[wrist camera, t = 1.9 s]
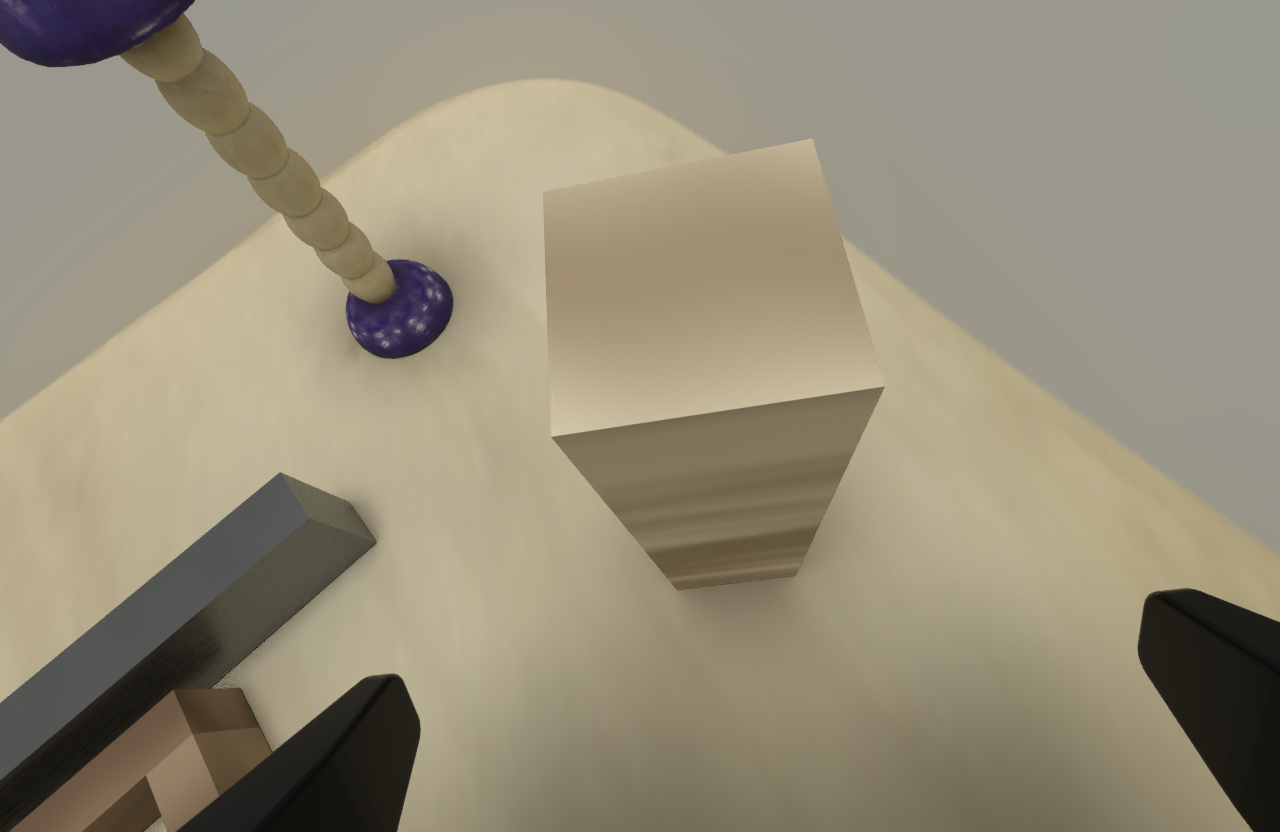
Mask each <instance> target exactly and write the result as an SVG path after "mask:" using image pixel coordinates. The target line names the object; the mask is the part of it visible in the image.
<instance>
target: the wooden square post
mask: <svg viewBox="0 0 1280 832" xmlns="http://www.w3.org/2000/svg"><path fill="white" fill-rule="evenodd" d="M543 206H544V236H545V267H546V298H547V328H548V359H549V390H550V421H551V437H552V439H553V440H554V441H555V442H556V443H557V445H558V446H559V447H560V448H561V449H562V451H563V452H564V453H565V454H566V456H567V457H568V458H569V459H570V460H571V462H572V463H573V464H574V465H575V466H576V468H577V469H578V470H579V471H580V473H581V474H582V475H583V476H584V477H585V479H586V480H587V481H588V482H589V483H590V485H591V486H592V487H593V488H594V490H595V491H596V492H597V493H598V494H599V496H600V497H601V498H602V499H603V500H604V502H605V503H606V504H607V505H608V507H609V508H610V509H611V510H612V511H613V513H614V514H615V515H616V516H617V517H618V519H619V520H620V521H621V522H622V524H623V525H624V526H625V527H626V528H627V530H628V531H629V532H630V533H631V535H632V536H633V537H634V538H635V539H636V541H637V542H638V543H639V544H640V545H641V547H642V548H643V549H644V550H645V552H646V553H647V554H648V555H649V556H650V558H651V559H652V560H653V561H654V562H655V564H656V565H657V566H658V567H659V569H660V570H661V571H662V572H663V573H664V575H665V576H666V577H667V578H668V579H669V581H670V582H671V583H672V584H673V586H674V587H675V588H676V589H677V590H679V589H688V588H696V587H705V586H713V585H721V584H730V583H738V582H747V581H755V580H764V579H772V578H781V577H789V576H796V573H797V571H798V569H799V567H800V565H801V563H802V561H803V559H804V557H805V554H806V552H807V550H808V548H809V546H810V544H811V542H812V540H813V537H814V535H815V533H816V531H817V529H818V527H819V525H820V523H821V521H822V518H823V516H824V514H825V512H826V510H827V508H828V506H829V504H830V501H831V499H832V497H833V495H834V493H835V491H836V489H837V487H838V485H839V482H840V480H841V478H842V476H843V474H844V472H845V470H846V468H847V465H848V463H849V461H850V459H851V457H852V455H853V453H854V451H855V449H856V446H857V444H858V442H859V440H860V438H861V436H862V434H863V432H864V430H865V427H866V425H867V423H868V421H869V419H870V417H871V415H872V413H873V410H874V408H875V406H876V404H877V402H878V400H879V398H880V396H881V394H882V391H883V389H884V387H885V385H884V382H883V378H882V375H881V371H880V368H879V365H878V361H877V358H876V354H875V351H874V347H873V344H872V341H871V337H870V334H869V330H868V327H867V324H866V320H865V317H864V313H863V310H862V306H861V303H860V300H859V296H858V293H857V289H856V286H855V282H854V279H853V276H852V272H851V269H850V265H849V262H848V258H847V255H846V252H845V248H844V245H843V241H842V238H841V235H840V231H839V228H838V225H837V221H836V218H835V214H834V211H833V207H832V204H831V200H830V197H829V193H828V190H827V187H826V183H825V180H824V176H823V173H822V169H821V167H820V163H819V159H818V156H817V152H816V149H815V146H814V142H813V139H808V140H803V141H798V142H793V143H788V144H783V145H778V146H773V147H768V148H762V149H757V150H752V151H747V152H742V153H738V154H732V155H727V156H722V157H717V158H712V159H707V160H702V161H697V162H692V163H687V164H682V165H677V166H672V167H667V168H662V169H657V170H652V171H647V172H642V173H637V174H632V175H627V176H622V177H616V178H611V179H606V180H601V181H596V182H591V183H586V184H581V185H576V186H571V187H566V188H561V189H556V190H551V191H546V192H543Z"/></svg>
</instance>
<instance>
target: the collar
mask: <svg viewBox="0 0 1280 832" xmlns="http://www.w3.org/2000/svg"><path fill="white" fill-rule="evenodd" d="M271 753H272V752H271V750H270V748H269V746H268V744H267V742H266V740H265V738H264V736H263V734H262V732H261V730H260V728H259V726H258V724H257V721H256V719H255V717H254V715H253V713H252V711H251V709H250V707H249V705H248V703H247V701H246V699H245V697H244V695H243V693H242V691H241V689H240V688H228V689H187V690H172V691H171V692H170V693H169V694H168V695H167V696H165V697H164V698H163V699H162V700H161V701H160V702H159V703H157V704H156V705H155V706H154V707H153V708H152V709H150V710H149V711H148V712H147V713H146V714H145V715H144V716H142V717H141V718H140V719H139V720H138V721H137V722H135V723H134V724H133V725H132V726H131V727H130V728H128V729H127V730H126V731H125V732H124V733H123V734H122V735H120V736H119V737H118V738H117V739H116V740H115V741H113V742H112V743H111V744H110V745H109V746H108V747H107V748H105V749H104V750H103V751H102V752H101V753H100V754H98V755H97V756H96V757H95V758H94V759H93V760H92V761H90V762H89V763H88V764H87V765H86V766H85V767H83V768H82V769H81V770H80V771H79V772H78V773H76V774H75V775H74V776H73V777H72V778H71V779H70V780H68V781H67V782H66V783H65V784H64V785H63V786H61V787H60V788H59V789H58V790H57V791H56V792H55V793H53V794H52V795H51V796H50V797H49V798H48V799H46V800H45V801H44V802H43V803H42V804H41V805H40V806H38V807H37V808H36V809H35V810H34V811H33V812H31V813H30V814H29V815H28V816H27V817H26V818H24V819H23V820H22V821H21V822H20V823H19V824H18V825H16V826H15V827H14V828H13V829H12V830H11V831H9V832H143V831H144V830H145V829H147V828H148V827H149V826H150V825H151V824H152V823H153V822H154V821H155V820H157V819H158V818H159V817H160V816H162V818H163V821H164V823H165V826H166V829H167V831H168V832H175V831H177V830H178V829H179V828H180V827H182V826H183V825H184V824H185V823H186V822H188V821H189V820H190V819H191V818H193V817H194V816H195V815H196V814H198V813H199V812H200V811H201V810H202V809H204V808H205V807H206V806H207V805H209V804H210V803H211V802H212V801H214V800H215V799H216V798H217V797H218V796H220V795H221V794H222V793H223V792H225V791H226V790H227V789H228V788H230V787H231V786H232V785H233V784H234V783H236V782H237V781H238V780H239V779H241V778H242V777H243V776H244V775H245V774H247V773H248V772H249V771H250V770H252V769H253V768H254V767H255V766H257V765H258V764H259V763H260V762H261V761H263V760H264V759H265V758H266V757H268V756H269V755H270V754H271Z"/></svg>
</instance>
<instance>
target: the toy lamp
mask: <svg viewBox="0 0 1280 832" xmlns="http://www.w3.org/2000/svg"><path fill="white" fill-rule="evenodd" d="M194 1H195V0H0V43H1V44H2V45H3V46H5V47H6V48H7V49H8V50H9V51H11V52H12V53H14V54H15V55H17V56H18V57H20V58H22V59H24V60H26V61H31V62H33V63H35V64H38V65H42V66H47V67H67V66H80V65H86V64H92V63H96V62H99V61H102V60H104V59H107V58H110V57H113V56H117V55H119V56H121V57H122V58H123V59H124V60H125V61H126V62H127V63H129V64H130V65H131V66H133V67H134V68H135V69H137V70H138V71H140V72H142V73H143V74H145V75H147V76H149V77H151V78H153V79H155V81H156V84H157V86H158V88H159V90H160V92H161V94H162V95H163V97H164V98H165V99H166V101H167V102H168V103H169V104H170V106H171V107H172V108H173V109H174V110H175V111H176V112H177V113H178V114H179V115H180V116H181V117H182V118H184V119H185V120H186V121H187V122H189V123H190V124H192V125H193V126H195V127H197V128H199V129H201V130H203V131H205V133H206V136H207V138H208V140H209V142H210V144H211V145H212V146H213V148H214V149H215V150H216V152H217V153H218V154H219V155H220V156H221V157H222V158H223V159H224V160H225V161H226V162H227V163H228V164H229V165H230V166H232V167H233V168H234V169H236V170H237V171H239V172H241V173H243V174H245V175H247V177H248V180H249V182H250V183H251V185H252V187H253V189H254V190H255V192H256V193H257V194H258V196H259V197H260V198H261V199H262V200H263V201H264V202H265V203H266V204H268V205H269V206H270V207H271V208H273V209H274V210H276V211H278V212H279V213H281V214H283V216H284V219H285V221H286V223H287V225H288V226H289V228H290V229H291V231H292V232H293V233H294V234H295V235H296V236H297V237H298V238H299V239H300V240H302V241H303V242H305V243H306V244H308V245H310V246H312V247H314V250H315V252H316V254H317V256H318V257H319V259H320V260H321V262H322V263H323V264H324V265H325V266H326V267H327V268H329V269H330V270H331V271H333V272H334V273H336V274H338V275H340V276H341V279H342V281H343V283H344V284H345V286H346V287H347V288H348V290H349V291H350V292H349V294H348V298H347V303H346V315H347V321H348V325H349V328H350V330H351V333H352V334H353V336H354V337H355V339H356V340H357V342H358V343H359V344H360V345H361V346H362V347H363V348H364V349H366V350H367V351H369V352H370V353H372V354H374V355H377V356H381V357H391V358H393V357H400V356H405V355H408V354H412V353H414V352H416V351H418V350H420V349H422V348H423V347H425V346H426V345H428V344H429V343H430V342H431V341H433V340H434V339H435V338H436V336H437V335H438V334H439V333H440V332H441V331H442V330H443V329H444V327H445V325H446V323H447V321H448V320H449V317H450V313H451V309H452V294H451V291H450V289H449V286H448V284H447V283H446V281H445V280H444V279H443V278H442V277H441V276H440V275H438V274H437V273H436V272H435V271H433V270H432V269H430V268H428V267H427V266H425V265H423V264H421V263H418V262H415V261H410V260H389V261H385V260H384V259H383V258H382V257H381V256H380V255H379V254H377V253H376V252H374V251H373V250H372V247H371V244H370V242H369V240H368V239H367V237H366V236H365V235H364V233H363V232H362V231H361V230H360V229H359V228H358V227H356V226H355V225H354V224H353V223H351V222H349V221H348V217H347V214H346V212H345V210H344V208H343V207H342V205H341V204H340V203H339V201H338V200H337V199H336V198H335V197H334V196H333V195H332V194H331V193H329V192H328V191H326V190H325V189H323V188H322V187H320V182H319V180H318V177H317V176H316V174H315V172H314V171H313V169H312V168H311V167H310V165H309V164H308V163H307V162H306V161H305V159H304V158H303V157H301V156H300V155H299V154H298V153H296V152H295V151H293V150H292V149H290V148H288V147H287V146H286V142H285V140H284V137H283V135H282V134H281V132H280V130H279V129H278V127H277V126H276V125H275V124H274V122H273V121H272V120H271V119H270V118H269V117H268V116H267V115H266V114H265V113H264V112H263V111H262V110H261V109H260V108H258V107H257V106H255V105H253V104H252V103H250V102H248V100H247V96H246V93H245V91H244V89H243V87H242V85H241V83H240V82H239V80H238V79H237V78H236V76H235V75H234V74H233V72H232V71H231V70H230V69H229V68H228V67H227V66H226V64H224V63H223V62H222V61H221V60H220V59H219V58H217V57H216V56H215V55H213V54H212V53H210V52H209V51H207V50H206V49H204V48H202V46H201V43H200V39H199V37H198V35H197V33H196V31H195V29H194V28H193V26H192V24H191V23H190V21H189V20H188V18H187V17H186V16H185V14H184V13H183V12H185V11H186V10H187V9H188V8H189V6H191V5H192V4H193V3H194Z"/></svg>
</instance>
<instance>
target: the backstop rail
mask: <svg viewBox="0 0 1280 832" xmlns="http://www.w3.org/2000/svg"><path fill="white" fill-rule="evenodd" d="M375 543H376V541H375V539H374V538H373V536H372V535H371V534H370V532H369V531H368V529H367V528H366V526H365V525H364V523H363V522H362V520H361V519H360V517H359V516H358V514H357V513H356V512H355V510H354V509H353V507H352V506H351V504H350V503H349V502H347V501H345V500H343V499H341V498H338V497H336V496H334V495H331V494H329V493H327V492H324V491H322V490H320V489H318V488H315V487H313V486H311V485H308V484H306V483H304V482H301V481H299V480H297V479H295V478H292V477H290V476H288V475H285V474H283V473H281V472H280V473H278V474H277V475H276V476H275V477H274V478H272V479H271V480H270V481H269V482H268V483H266V484H265V485H264V486H263V487H262V488H260V489H259V490H258V491H257V492H255V493H254V494H253V495H252V496H251V497H249V498H248V499H247V500H246V501H245V502H243V503H242V504H241V505H240V506H238V507H237V508H236V509H235V510H234V511H232V512H231V513H230V514H229V515H228V516H226V517H225V518H224V519H223V520H222V521H220V522H219V523H218V524H217V525H215V526H214V527H213V528H212V529H211V530H209V531H208V532H207V533H206V534H205V535H203V536H202V537H201V538H200V539H199V540H197V541H196V542H195V543H194V544H192V545H191V546H190V547H189V548H188V549H186V550H185V551H184V552H183V553H182V554H180V555H179V556H178V557H177V558H175V559H174V560H173V561H172V562H171V563H169V564H168V565H167V566H166V567H165V568H163V569H162V570H161V571H160V572H159V573H157V574H156V575H155V576H154V577H152V578H151V579H150V580H149V581H148V582H146V583H145V584H144V585H143V586H142V587H140V588H139V589H138V590H137V591H136V592H134V593H133V594H132V595H131V596H129V597H128V598H127V599H126V600H125V601H123V602H122V603H121V604H120V605H119V606H117V607H116V608H115V609H114V610H112V611H111V612H110V613H109V614H108V615H106V616H105V617H104V618H103V619H102V620H100V621H99V622H98V623H97V624H96V625H94V626H93V627H92V628H91V629H89V630H88V631H87V632H86V633H85V634H83V635H82V636H81V637H80V638H79V639H77V640H76V641H75V642H74V643H73V644H71V645H70V646H69V647H68V648H66V649H65V650H64V651H63V652H62V653H60V654H59V655H58V656H57V657H56V658H54V659H53V660H52V661H51V662H49V663H48V664H47V665H46V666H45V667H43V668H42V669H41V670H40V671H39V672H37V673H36V674H35V675H34V676H33V677H31V678H30V679H29V680H28V681H26V682H25V683H24V684H23V685H22V686H20V687H19V688H18V689H17V690H16V691H14V692H13V693H12V694H11V695H10V696H8V697H7V698H6V699H5V700H3V701H2V702H1V703H0V832H9V831H11V830H12V829H13V828H14V827H15V826H16V825H18V824H19V823H20V822H21V821H22V820H23V819H24V818H26V817H27V816H28V815H29V814H30V813H31V812H33V811H34V810H35V809H36V808H37V807H38V806H40V805H41V804H42V803H43V802H44V801H45V800H46V799H48V798H49V797H50V796H51V795H52V794H53V793H55V792H56V791H57V790H58V789H59V788H60V787H61V786H63V785H64V784H65V783H66V782H67V781H68V780H70V779H71V778H72V777H73V776H74V775H75V774H76V773H78V772H79V771H80V770H81V769H82V768H83V767H85V766H86V765H87V764H88V763H89V762H90V761H92V760H93V759H94V758H95V757H96V756H97V755H98V754H100V753H101V752H102V751H103V750H104V749H105V748H107V747H108V746H109V745H110V744H111V743H112V742H113V741H115V740H116V739H117V738H118V737H119V736H120V735H122V734H123V733H124V732H125V731H126V730H127V729H128V728H130V727H131V726H132V725H133V724H134V723H135V722H137V721H138V720H139V719H140V718H141V717H142V716H144V715H145V714H146V713H147V712H148V711H149V710H150V709H152V708H153V707H154V706H155V705H156V704H157V703H159V702H160V701H161V700H162V699H163V698H164V697H165V696H167V695H168V694H169V693H170V692H171V691H172V690H187V689H209V688H211V687H212V686H213V685H214V684H215V683H216V682H217V681H219V680H220V679H221V678H222V677H223V676H224V675H225V674H227V673H228V672H229V671H230V670H231V669H232V668H233V667H235V666H236V665H237V664H238V663H239V662H240V661H241V660H243V659H244V658H245V657H246V656H247V655H248V654H249V653H251V652H252V651H253V650H254V649H255V648H256V647H257V646H259V645H260V644H261V643H262V642H263V641H264V640H265V639H267V638H268V637H269V636H270V635H271V634H272V633H273V632H275V631H276V630H277V629H278V628H279V627H280V626H281V625H283V624H284V623H285V622H286V621H287V620H288V619H289V618H291V617H292V616H293V615H294V614H295V613H296V612H297V611H299V610H300V609H301V608H302V607H303V606H304V605H305V604H307V603H308V602H309V601H310V600H311V599H312V598H314V597H315V596H316V595H317V594H318V593H319V592H320V591H322V590H323V589H324V588H325V587H326V586H327V585H328V584H330V583H331V582H332V581H333V580H334V579H335V578H336V577H338V576H339V575H340V574H341V573H342V572H343V571H344V570H346V569H347V568H348V567H349V566H350V565H351V564H352V563H354V562H355V561H356V560H357V559H358V558H359V557H360V556H362V555H363V554H364V553H365V552H366V551H367V550H368V549H370V548H371V547H372V546H373V545H374V544H375Z"/></svg>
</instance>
